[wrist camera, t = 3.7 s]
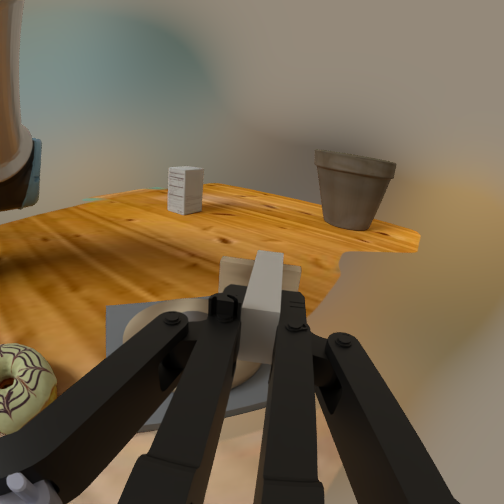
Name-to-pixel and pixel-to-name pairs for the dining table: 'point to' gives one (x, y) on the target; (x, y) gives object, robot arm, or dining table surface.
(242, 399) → the dial plate
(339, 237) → the dining table surface
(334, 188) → the plant pot
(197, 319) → the dial
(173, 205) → the supplement box
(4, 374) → the decorated donut
